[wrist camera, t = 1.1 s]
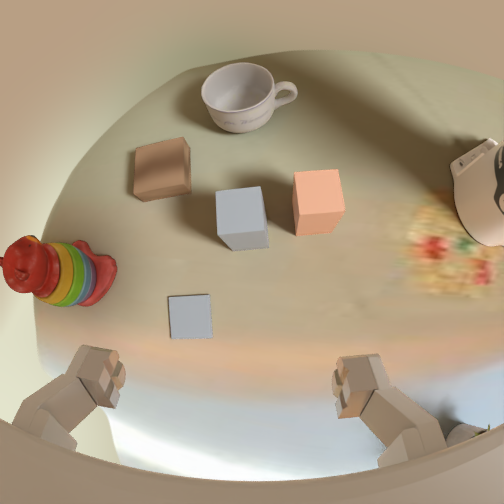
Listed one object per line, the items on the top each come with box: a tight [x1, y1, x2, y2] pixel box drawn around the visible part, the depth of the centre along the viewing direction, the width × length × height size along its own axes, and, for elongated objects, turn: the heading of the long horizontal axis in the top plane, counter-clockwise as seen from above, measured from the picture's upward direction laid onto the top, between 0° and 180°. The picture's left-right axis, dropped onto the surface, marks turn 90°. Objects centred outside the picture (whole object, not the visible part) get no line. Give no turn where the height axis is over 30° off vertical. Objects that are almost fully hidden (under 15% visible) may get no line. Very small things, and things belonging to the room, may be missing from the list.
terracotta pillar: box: [292, 169, 345, 236], centre depth 36 cm, size 5×5×10 cm
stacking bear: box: [0, 235, 117, 307], centre depth 34 cm, size 11×10×18 cm
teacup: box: [201, 62, 298, 133], centre depth 41 cm, size 14×11×8 cm
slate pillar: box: [216, 186, 269, 251], centre depth 37 cm, size 5×5×10 cm
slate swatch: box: [169, 295, 213, 339], centre depth 40 cm, size 6×6×1 cm
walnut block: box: [133, 137, 191, 202], centre depth 43 cm, size 8×8×4 cm
